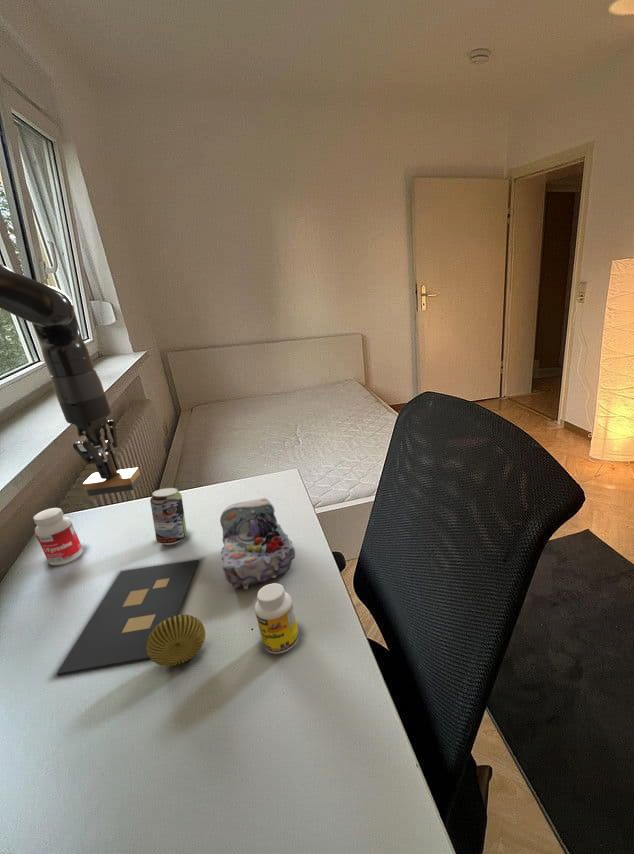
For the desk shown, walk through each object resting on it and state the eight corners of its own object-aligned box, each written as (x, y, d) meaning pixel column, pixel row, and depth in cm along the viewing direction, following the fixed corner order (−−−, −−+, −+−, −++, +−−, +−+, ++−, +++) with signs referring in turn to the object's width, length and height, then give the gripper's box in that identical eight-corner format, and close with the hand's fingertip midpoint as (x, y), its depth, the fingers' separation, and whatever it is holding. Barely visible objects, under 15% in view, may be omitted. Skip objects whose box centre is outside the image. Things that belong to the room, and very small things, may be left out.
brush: (87, 496, 91) (73, 462, 87) (97, 485, 95) (84, 451, 92) (134, 490, 92) (122, 455, 89) (142, 479, 96) (131, 446, 93)
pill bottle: (46, 570, 91) (24, 525, 87) (52, 554, 96) (32, 510, 92) (81, 560, 94) (62, 516, 89) (86, 545, 99) (67, 502, 94)
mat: (57, 676, 67) (56, 673, 67) (121, 573, 89) (121, 571, 89) (162, 657, 69) (160, 655, 69) (199, 561, 91) (199, 559, 91)
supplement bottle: (257, 653, 69) (244, 603, 65) (273, 625, 74) (262, 577, 70) (290, 658, 68) (279, 607, 64) (305, 629, 73) (295, 580, 69)
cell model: (268, 486, 96) (295, 532, 80) (276, 527, 101) (303, 578, 85) (204, 504, 91) (220, 557, 75) (215, 546, 95) (233, 606, 79)
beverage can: (152, 547, 96) (135, 500, 92) (175, 528, 103) (161, 483, 98) (176, 550, 95) (160, 502, 90) (198, 530, 101) (185, 485, 97)
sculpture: (208, 638, 72) (196, 600, 69) (212, 655, 69) (200, 617, 66) (154, 662, 69) (138, 623, 65) (156, 681, 65) (139, 641, 62)
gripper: (77, 387, 91) (105, 463, 98) (40, 408, 78) (74, 493, 85) (116, 383, 92) (141, 458, 99) (86, 404, 80) (116, 487, 87)
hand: (110, 474), depth 92 cm, fingers closed on brush, 2 cm apart
